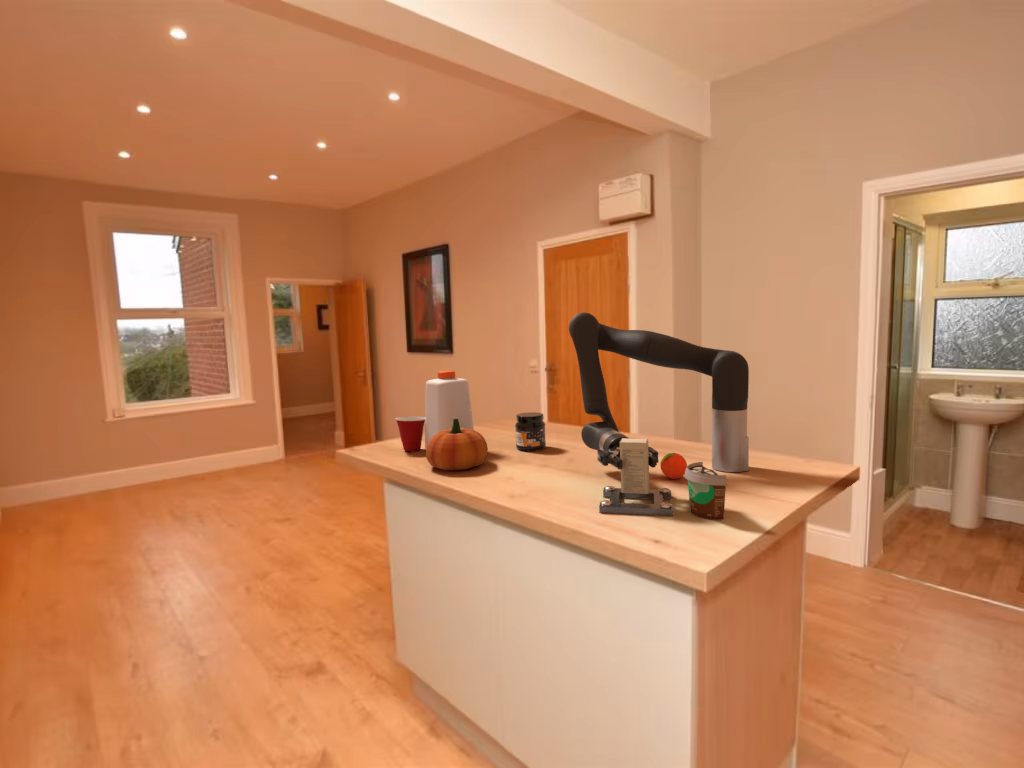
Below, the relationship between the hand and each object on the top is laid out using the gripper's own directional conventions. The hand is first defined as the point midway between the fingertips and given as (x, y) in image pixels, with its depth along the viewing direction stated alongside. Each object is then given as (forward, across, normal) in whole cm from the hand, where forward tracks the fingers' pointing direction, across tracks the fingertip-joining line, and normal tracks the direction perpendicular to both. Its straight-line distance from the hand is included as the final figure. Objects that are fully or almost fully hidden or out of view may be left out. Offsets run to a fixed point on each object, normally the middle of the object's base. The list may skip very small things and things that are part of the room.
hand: (637, 464), depth 122 cm
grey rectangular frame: (-2, 0, +10) cm, 10 cm away
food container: (+7, +12, +10) cm, 17 cm away
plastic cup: (-74, -58, +12) cm, 94 cm away
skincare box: (-2, 0, +7) cm, 8 cm away
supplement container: (-65, -16, +11) cm, 68 cm away
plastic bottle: (-70, -44, +12) cm, 84 cm away
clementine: (-19, +16, +10) cm, 27 cm away
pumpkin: (-48, -42, +11) cm, 64 cm away
